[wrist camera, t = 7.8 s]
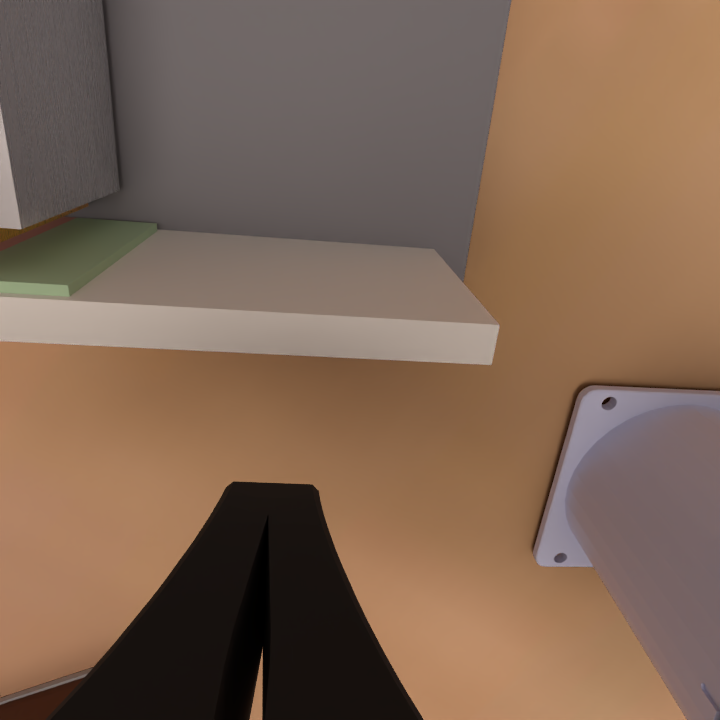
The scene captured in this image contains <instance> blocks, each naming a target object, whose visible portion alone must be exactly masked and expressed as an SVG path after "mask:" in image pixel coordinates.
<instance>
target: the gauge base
mask: <svg viewBox="0 0 720 720" xmlns="http://www.w3.org/2000/svg"><path fill="white" fill-rule="evenodd" d="M102 5H103V15H104V26H105V37H106V48H107V59H108V69H109V80H110V91H111V102H112V113H113V124H114V134H115V145H116V156H117V167H118V178H119V188H120V190H119V191H117V192H114V193H112V194H109V195H107V196H104V197H102V198H99V199H96V200H94V201H91V202H89V203H88V207H85V208H83V209H80V210H78V211H76V212H73V213H71V214H68V215H66V216H64V217H61V218H59V219H56V220H54V221H51V222H49V223H47V224H44V225H42V226H39V227H37V228H34V229H32V230H30V231H27V232H25V233H22V234H20V235H17V236H15V237H13V238H10V239H8V240H5V241H3V242H0V341H8V342H29V343H49V344H70V345H91V346H111V347H132V348H152V349H173V350H193V351H214V352H235V353H255V354H276V355H296V356H317V357H337V358H358V359H379V360H399V361H420V362H440V363H461V364H482V365H492V360H493V355H494V351H495V346H496V341H497V336H498V331H499V326H500V325H499V324H498V322H497V321H496V320H495V319H494V318H493V317H492V315H491V314H490V313H489V312H488V311H487V310H486V309H485V307H484V306H483V305H482V304H481V303H480V302H479V300H478V299H477V298H476V297H475V296H474V295H473V294H472V292H471V291H470V290H469V289H468V288H467V287H466V285H465V284H464V283H463V280H464V274H465V268H466V263H467V257H468V251H469V245H470V239H471V233H472V227H473V222H474V216H475V210H476V204H477V198H478V192H479V186H480V181H481V175H482V169H483V163H484V157H485V151H486V145H487V140H488V134H489V128H490V122H491V116H492V110H493V104H494V99H495V93H496V87H497V81H498V75H499V69H500V63H501V57H502V52H503V46H504V40H505V34H506V28H507V22H508V16H509V11H510V5H511V0H102Z"/></svg>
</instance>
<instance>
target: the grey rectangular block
mask: <svg viewBox="0 0 720 720" xmlns="http://www.w3.org/2000/svg"><path fill="white" fill-rule="evenodd" d="M119 190H120V188H119V178H118V167H117V156H116V145H115V134H114V124H113V113H112V102H111V91H110V80H109V69H108V59H107V48H106V37H105V26H104V15H103V5H102V0H0V242H3V241H5V240H8V239H10V238H13V237H15V236H17V235H20V234H22V233H25V232H27V231H30V230H32V229H34V228H37V227H39V226H42V225H44V224H47V223H49V222H51V221H54V220H56V219H59V218H61V217H64V216H66V215H68V214H71V213H73V212H76V211H78V210H80V209H83V208H85V207H88V203H89V202H91V201H94V200H96V199H99V198H102V197H104V196H107V195H109V194H112V193H114V192H117V191H119Z"/></svg>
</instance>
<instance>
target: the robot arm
mask: <svg viewBox="0 0 720 720" xmlns="http://www.w3.org/2000/svg"><path fill="white" fill-rule="evenodd" d="M607 397H611V399H610V401H609V402H608V403H606V404H603V405H602V402H603V401H604V399H606V398H607ZM559 553H561V554H559ZM557 554H559V555H557ZM533 556H534V558H535V560H536V562H537V564H539V565H540V566H546V567H594V568H595V570H596V572H597V573H598V575H599V577H600V578H601V580H602V582H603V583H604V585H605V586H606V588H607V590H608V591H609V593H610V595H611V596H612V598H613V600H614V601H615V603H616V604H617V606H618V608H619V609H620V611H621V613H622V614H623V616H624V618H625V619H626V621H627V622H628V624H629V626H630V627H631V629H632V631H633V632H634V634H635V636H636V637H637V639H638V640H639V642H640V644H641V645H642V647H643V649H644V650H645V652H646V654H647V655H648V657H649V658H650V660H651V662H652V663H653V665H654V667H655V668H656V670H657V672H658V673H659V675H660V676H661V678H662V680H663V681H664V683H665V685H666V686H667V688H668V690H669V691H670V693H671V694H672V696H673V698H674V699H675V701H676V703H677V704H678V706H679V708H680V709H681V711H682V712H683V714H684V716H685V717H686V719H687V720H720V391H707V390H685V389H663V388H641V387H619V386H597V385H594V386H588V387H586V388H584V389H583V390H582V391H581V392H580V393H579V395H578V397H577V400H576V403H575V407H574V410H573V414H572V417H571V421H570V424H569V428H568V431H567V435H566V438H565V442H564V445H563V449H562V452H561V456H560V459H559V462H558V466H557V469H556V473H555V476H554V480H553V483H552V487H551V490H550V494H549V497H548V501H547V504H546V508H545V511H544V515H543V518H542V522H541V525H540V529H539V532H538V536H537V539H536V543H535V546H534V550H533ZM262 648H263V716H262V720H423V718H422V716H421V715H420V713H419V711H418V710H417V708H416V707H415V705H414V703H413V702H412V700H411V698H410V697H409V695H408V694H407V692H406V690H405V689H404V687H403V685H402V683H401V682H400V680H399V678H398V676H397V675H396V673H395V671H394V669H393V668H392V666H391V664H390V662H389V660H388V659H387V657H386V655H385V653H384V651H383V649H382V648H381V646H380V644H379V642H378V640H377V638H376V636H375V634H374V632H373V630H372V628H371V627H370V625H369V623H368V621H367V619H366V617H365V615H364V613H363V610H362V608H361V606H360V604H359V602H358V600H357V598H356V596H355V594H354V591H353V589H352V587H351V584H350V582H349V580H348V578H347V575H346V573H345V571H344V569H343V566H342V564H341V562H340V559H339V557H338V554H337V552H336V549H335V547H334V544H333V541H332V538H331V535H330V533H329V530H328V527H327V524H326V521H325V517H324V514H323V510H322V506H321V502H320V497H319V491H318V490H317V489H316V488H315V487H314V486H313V485H310V484H283V483H257V482H232V483H231V484H230V485H229V486H227V487H226V489H225V490H224V492H223V494H222V496H221V498H220V500H219V502H218V503H217V505H216V507H215V508H214V510H213V512H212V513H211V515H210V517H209V518H208V520H207V521H206V523H205V525H204V526H203V528H202V529H201V531H200V532H199V534H198V535H197V537H196V538H195V540H194V541H193V543H192V544H191V545H190V547H189V548H188V550H187V551H186V552H185V554H184V555H183V556H182V558H181V559H180V561H179V562H178V563H177V565H176V566H175V567H174V569H173V570H172V572H171V573H170V574H169V576H168V577H167V578H166V580H165V581H164V583H163V584H162V585H161V587H160V588H159V589H158V590H157V592H156V593H155V594H154V596H153V597H152V598H151V599H150V601H149V602H148V603H147V604H146V605H145V607H144V608H143V609H142V610H141V612H140V613H139V614H138V615H137V616H136V618H135V619H134V620H133V621H132V623H131V624H130V625H129V626H128V627H127V629H126V630H125V631H124V632H123V634H122V635H121V636H120V637H119V638H118V640H117V641H116V642H115V643H114V644H113V646H112V647H111V648H110V649H109V650H108V651H107V653H106V654H105V655H104V656H103V657H102V658H101V659H100V661H99V662H98V663H97V664H96V665H95V666H94V667H93V669H92V670H91V671H90V672H89V673H88V674H87V675H86V676H85V677H84V679H83V680H82V681H81V682H80V683H79V684H78V685H77V686H76V687H75V688H74V690H73V691H72V692H71V693H70V694H69V695H68V696H67V697H66V698H65V699H64V700H63V701H62V702H61V703H60V704H59V705H58V707H57V708H56V709H55V710H54V711H53V712H52V713H51V714H50V715H49V716H48V717H47V718H46V719H45V720H249V719H250V713H251V708H252V703H253V697H254V692H255V686H256V681H257V675H258V670H259V665H260V659H261V654H262Z"/></svg>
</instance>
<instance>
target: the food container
mask: <svg viewBox="0 0 720 720" xmlns="http://www.w3.org/2000/svg"><path fill="white" fill-rule="evenodd" d="M92 669H93V667H92V668H89V669H86V670H83V671H80V672H77V673H74V674H71V675H68V676H65V677H62V678H59V679H56V680H53V681H50V682H47V683H44V684H41V685H38V686H35V687H32V688H29V689H26V690H23V691H20V692H17V693H14V694H11V695H8V696H5V697H2V698H0V720H45V719H46V718H47V717H48V716H49V715H50V714H51V713H52V712H53V711H54V710H55V709H56V708H57V707H58V705H59V704H60V703H61V702H62V701H63V700H64V699H65V698H66V697H67V696H68V695H69V694H70V693H71V692H72V691H73V690H74V688H75V687H76V686H77V685H78V684H79V683H80V682H81V681H82V680H83V679H84V677H85V676H86V675H87V674H88V673H89V672H90V671H91V670H92Z"/></svg>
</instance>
